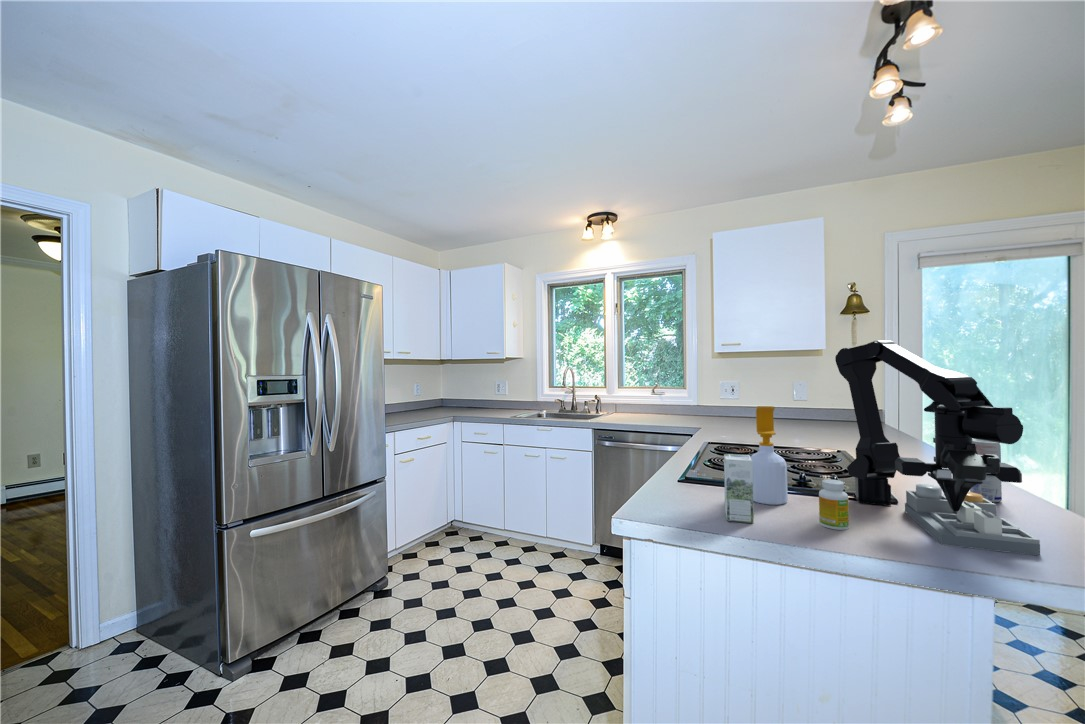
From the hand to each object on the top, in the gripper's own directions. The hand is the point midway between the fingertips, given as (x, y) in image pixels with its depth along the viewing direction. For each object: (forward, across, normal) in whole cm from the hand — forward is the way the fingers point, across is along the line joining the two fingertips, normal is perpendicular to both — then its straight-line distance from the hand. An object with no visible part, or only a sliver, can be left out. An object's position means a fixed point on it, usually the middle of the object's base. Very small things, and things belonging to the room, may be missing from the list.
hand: (955, 510), depth 92 cm
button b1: (+1, -2, +8) cm, 8 cm away
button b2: (+2, +5, +8) cm, 10 cm away
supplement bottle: (+5, -22, -5) cm, 23 cm away
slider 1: (+2, +2, 0) cm, 3 cm away
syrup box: (+5, -41, -7) cm, 42 cm away
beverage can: (+4, +16, +28) cm, 32 cm away
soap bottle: (+5, -34, +10) cm, 36 cm away
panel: (+4, +2, +1) cm, 5 cm away
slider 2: (+2, +3, -6) cm, 7 cm away
